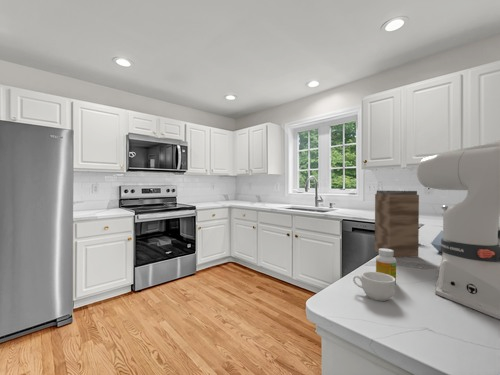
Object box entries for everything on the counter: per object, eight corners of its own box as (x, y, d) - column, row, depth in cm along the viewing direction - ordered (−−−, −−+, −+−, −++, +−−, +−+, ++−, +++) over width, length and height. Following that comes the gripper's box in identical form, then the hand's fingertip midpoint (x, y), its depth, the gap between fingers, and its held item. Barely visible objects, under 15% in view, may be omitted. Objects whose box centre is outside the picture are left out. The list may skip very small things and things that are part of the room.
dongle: (478, 217, 110) (470, 209, 109) (448, 254, 108) (439, 245, 108) (468, 216, 115) (460, 208, 114) (438, 251, 113) (430, 243, 112)
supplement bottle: (393, 286, 71) (393, 253, 71) (373, 281, 75) (373, 249, 75) (398, 281, 75) (398, 249, 75) (379, 277, 79) (379, 246, 79)
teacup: (397, 296, 65) (397, 275, 65) (393, 307, 59) (393, 284, 59) (356, 286, 71) (356, 268, 71) (349, 296, 65) (349, 275, 65)
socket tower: (419, 256, 104) (420, 191, 104) (389, 257, 102) (390, 190, 102) (402, 250, 114) (402, 190, 114) (374, 251, 112) (375, 190, 112)
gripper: (457, 214, 123) (435, 200, 122) (504, 219, 103) (478, 202, 101) (451, 225, 123) (429, 211, 121) (497, 232, 102) (471, 215, 101)
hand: (452, 207), depth 111 cm, fingers open, 8 cm apart
